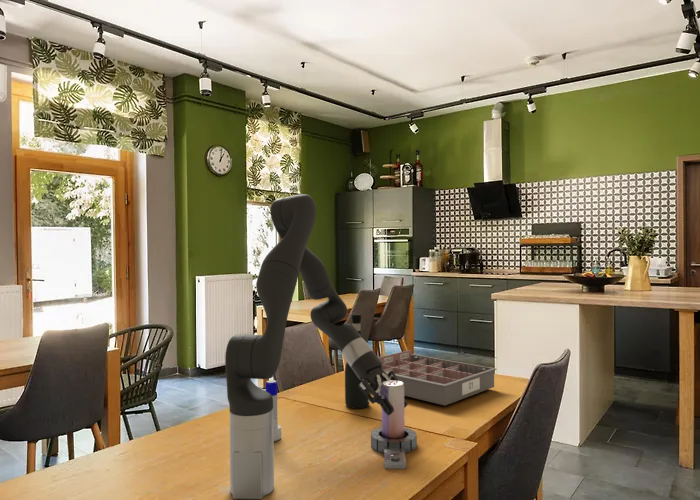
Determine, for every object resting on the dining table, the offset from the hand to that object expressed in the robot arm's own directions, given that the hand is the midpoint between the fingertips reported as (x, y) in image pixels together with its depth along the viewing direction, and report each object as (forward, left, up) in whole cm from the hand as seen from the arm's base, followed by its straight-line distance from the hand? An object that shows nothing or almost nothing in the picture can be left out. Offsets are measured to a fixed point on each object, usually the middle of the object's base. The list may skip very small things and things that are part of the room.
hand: (398, 409), depth 135 cm
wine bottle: (+35, +12, -10) cm, 38 cm away
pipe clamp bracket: (+1, +1, -10) cm, 10 cm away
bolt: (+5, +34, -10) cm, 36 cm away
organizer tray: (+56, -12, -10) cm, 58 cm away
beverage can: (+1, +1, -8) cm, 9 cm away
